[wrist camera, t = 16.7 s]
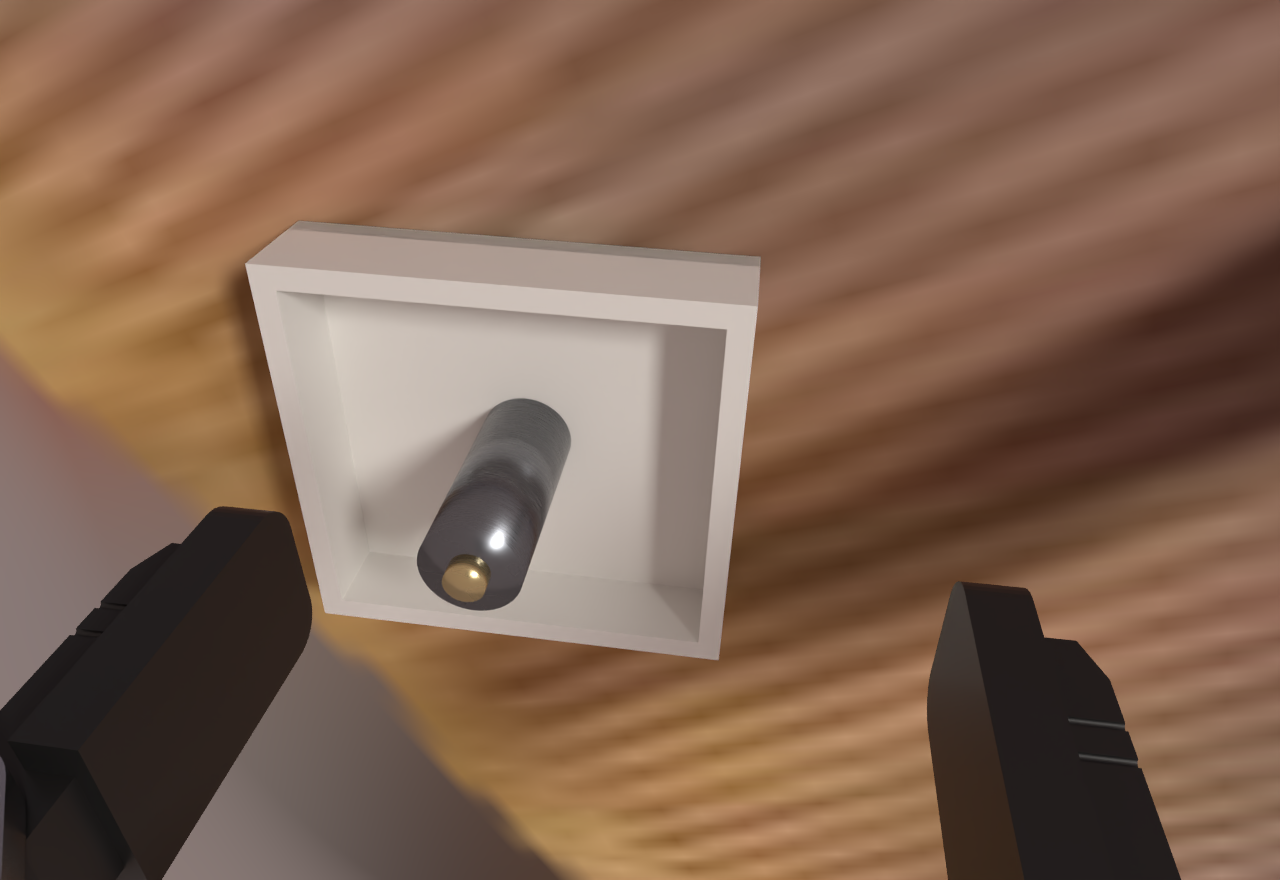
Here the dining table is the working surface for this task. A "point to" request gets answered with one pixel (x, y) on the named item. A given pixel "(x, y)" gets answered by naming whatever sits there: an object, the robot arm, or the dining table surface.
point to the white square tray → (508, 369)
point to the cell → (496, 507)
